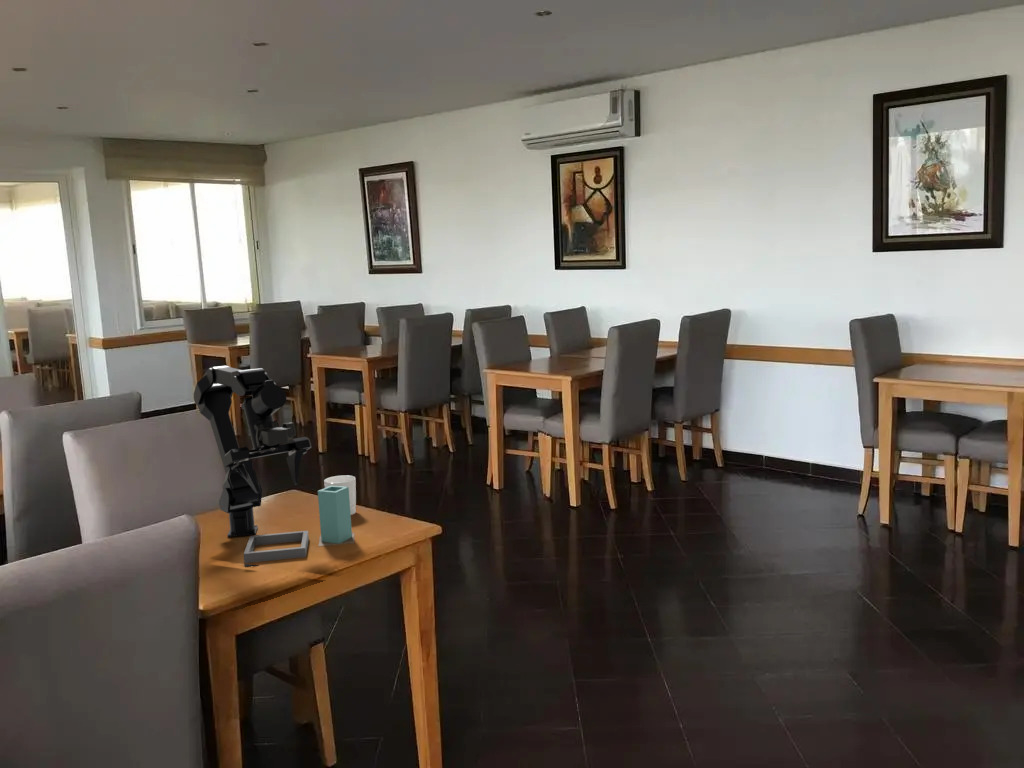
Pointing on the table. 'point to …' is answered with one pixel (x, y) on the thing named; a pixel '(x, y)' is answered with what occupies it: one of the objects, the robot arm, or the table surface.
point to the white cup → (345, 482)
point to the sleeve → (334, 514)
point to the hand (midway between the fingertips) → (277, 488)
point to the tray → (277, 553)
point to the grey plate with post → (348, 541)
